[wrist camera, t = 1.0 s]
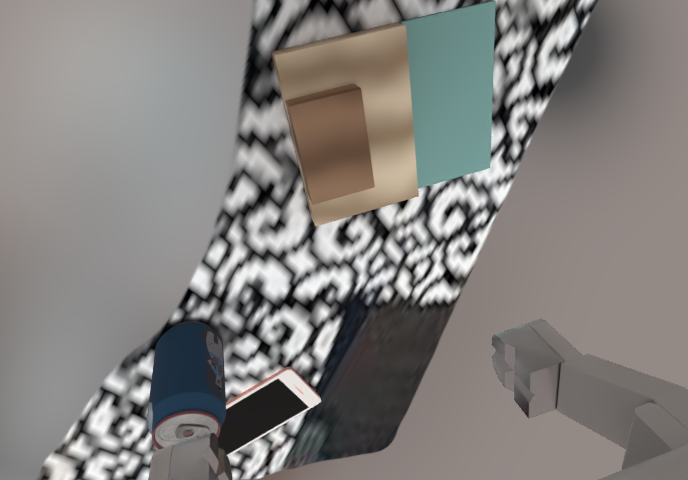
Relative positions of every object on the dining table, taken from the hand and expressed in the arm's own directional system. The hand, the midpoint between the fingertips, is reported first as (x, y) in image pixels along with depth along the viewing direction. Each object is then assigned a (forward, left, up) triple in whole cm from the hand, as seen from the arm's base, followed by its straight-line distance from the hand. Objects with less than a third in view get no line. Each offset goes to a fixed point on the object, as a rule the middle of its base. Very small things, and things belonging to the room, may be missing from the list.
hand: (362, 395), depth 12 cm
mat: (+4, +18, -30) cm, 36 cm away
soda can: (+23, -14, -31) cm, 41 cm away
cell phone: (+39, -12, -31) cm, 51 cm away
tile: (+4, +5, -28) cm, 29 cm away
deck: (+4, +8, -30) cm, 32 cm away
